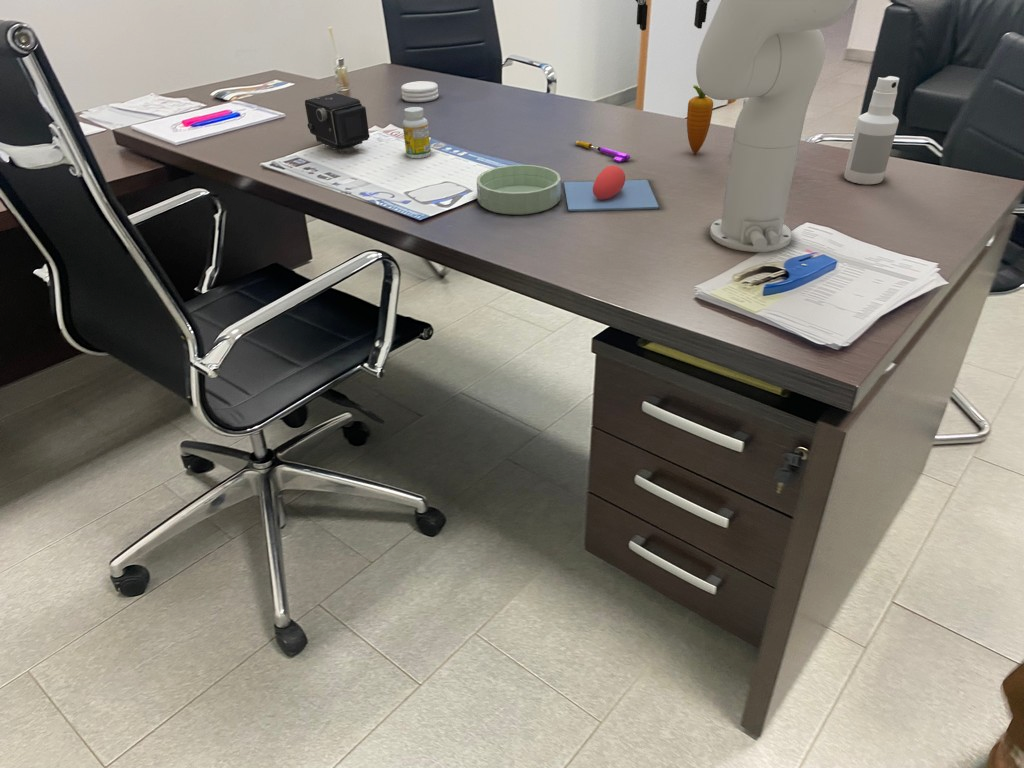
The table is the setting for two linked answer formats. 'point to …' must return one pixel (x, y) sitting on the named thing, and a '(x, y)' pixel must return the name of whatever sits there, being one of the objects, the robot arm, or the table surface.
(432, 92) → the coaster
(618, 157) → the purple and gold rod
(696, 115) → the carrot
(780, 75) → the robot arm
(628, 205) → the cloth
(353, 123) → the camera
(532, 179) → the bowl
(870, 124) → the spray bottle
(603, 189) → the red oval piece
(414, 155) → the supplement bottle
